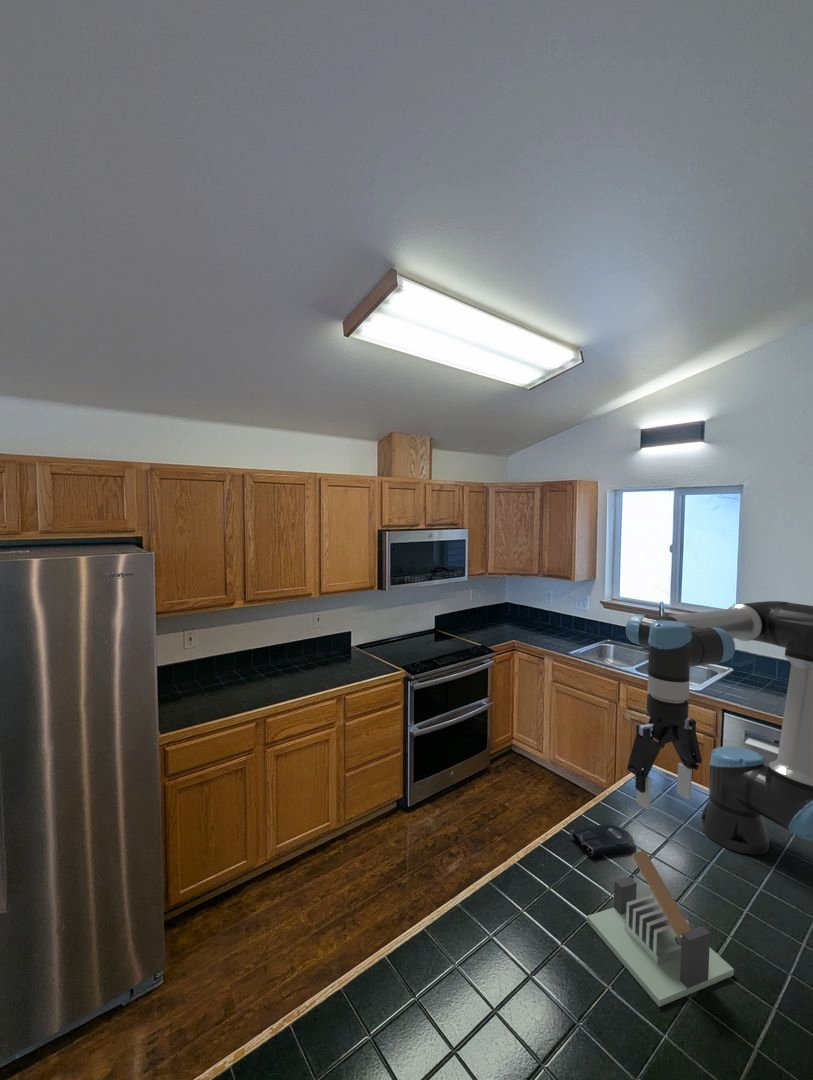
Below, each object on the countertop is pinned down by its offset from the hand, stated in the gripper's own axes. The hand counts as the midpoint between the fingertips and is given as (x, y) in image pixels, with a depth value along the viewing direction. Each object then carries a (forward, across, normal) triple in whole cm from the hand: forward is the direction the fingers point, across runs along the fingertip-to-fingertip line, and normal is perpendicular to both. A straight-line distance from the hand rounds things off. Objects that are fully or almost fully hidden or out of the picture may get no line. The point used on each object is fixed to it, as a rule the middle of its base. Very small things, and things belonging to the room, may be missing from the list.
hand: (663, 801), depth 96 cm
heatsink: (+24, +6, +5) cm, 26 cm away
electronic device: (+26, -6, -22) cm, 35 cm away
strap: (+15, +6, +5) cm, 17 cm away
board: (+26, +6, +4) cm, 27 cm away
